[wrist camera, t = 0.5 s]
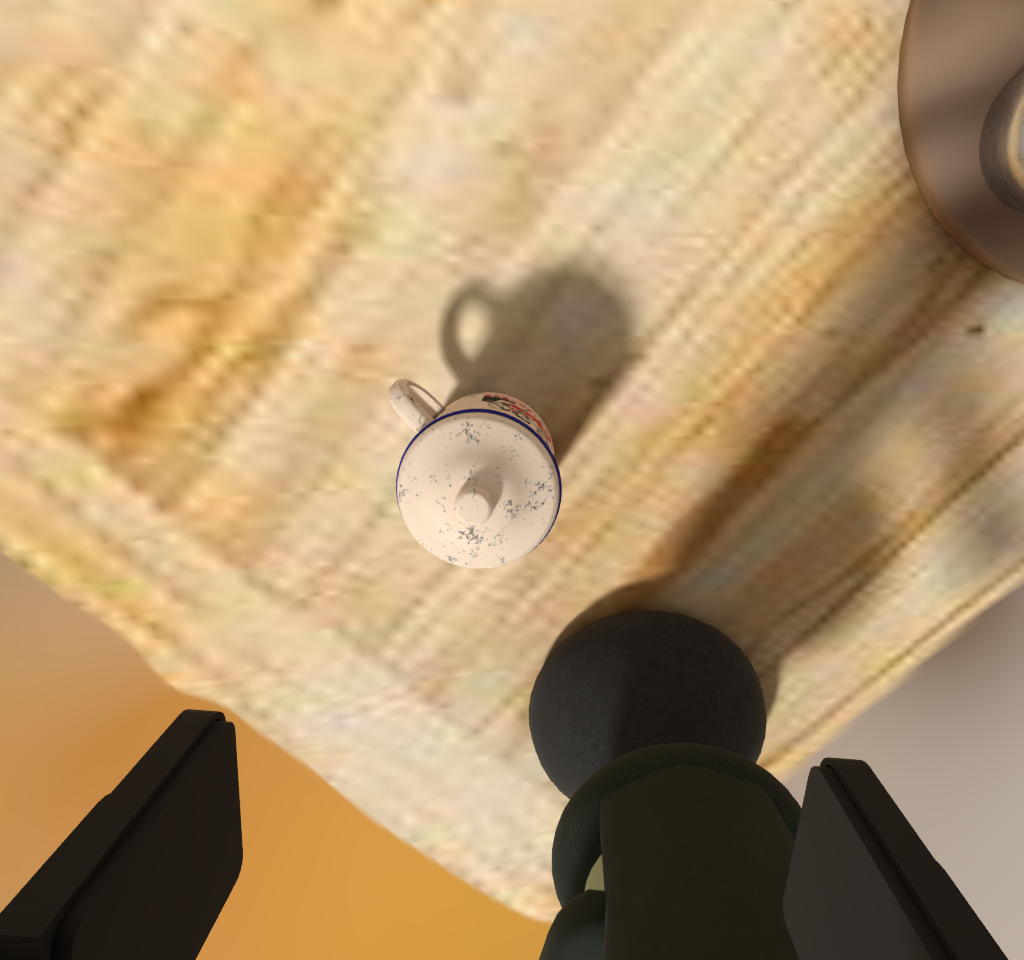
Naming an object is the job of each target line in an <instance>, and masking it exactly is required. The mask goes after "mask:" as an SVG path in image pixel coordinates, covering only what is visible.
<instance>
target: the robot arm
mask: <svg viewBox="0 0 1024 960" xmlns="http://www.w3.org/2000/svg"><path fill="white" fill-rule="evenodd" d="M238 784H239V783H238V768H237V752H236V735H235V726H234V724H233V723H232V722H226V720H225V716H224V714H223V713H222V712H218V711H204V710H191V709H188V710H184V711H183V712H182V713H181V714H180V715H179V716H178V717H177V718H176V719H175V721H174V722H173V723H172V724H171V725H170V726H169V727H168V728H167V729H166V731H165V732H164V733H163V734H162V735H161V736H160V738H159V739H158V740H157V741H156V742H155V743H154V744H153V746H152V747H151V748H150V749H149V750H148V751H147V752H146V754H145V755H144V756H143V757H142V758H141V759H140V760H139V762H138V763H137V764H136V765H135V766H134V767H133V768H132V770H131V771H130V772H129V773H128V774H127V775H126V776H125V778H124V779H123V780H122V781H121V782H120V783H119V785H118V786H117V787H116V788H115V789H114V790H113V791H112V793H110V794H108V795H106V796H105V797H104V798H103V799H101V801H99V802H98V803H97V804H96V805H95V807H94V808H93V809H92V810H91V811H90V812H89V813H88V814H87V816H86V817H85V818H84V819H83V820H82V821H81V822H80V824H79V825H78V826H77V827H76V828H75V829H74V830H73V831H72V833H71V834H70V835H69V836H68V837H67V839H65V841H64V842H63V843H62V844H61V845H60V846H59V847H58V849H57V850H56V851H55V852H54V853H53V854H52V855H51V856H50V858H49V859H48V860H47V861H46V862H45V863H44V864H43V865H42V867H41V868H40V869H39V870H38V871H37V872H36V873H35V875H34V876H33V877H32V878H31V879H30V880H29V881H28V882H27V884H26V885H25V886H24V887H23V888H22V889H21V891H20V892H19V893H18V894H17V895H16V896H15V897H14V898H13V900H12V901H11V902H10V903H9V904H8V905H7V906H6V907H5V909H4V910H3V911H2V912H1V913H0V960H196V958H197V956H198V954H199V952H200V950H201V948H202V946H203V944H204V942H205V941H206V939H207V937H208V935H209V933H210V931H211V929H212V927H213V925H214V923H215V921H216V919H217V918H218V916H219V914H220V912H221V910H222V908H223V906H224V904H225V902H226V901H227V899H228V897H229V895H230V893H231V891H232V889H233V887H234V885H235V883H236V881H237V879H238V877H239V873H240V870H241V866H242V860H243V848H242V831H241V815H240V799H239V785H238ZM783 911H784V918H785V923H786V926H787V929H788V931H789V934H790V936H791V939H792V941H793V944H794V947H795V949H796V952H797V954H798V957H799V959H800V960H1008V959H1007V957H1006V956H1005V955H1004V953H1003V952H1002V950H1001V949H1000V947H999V946H998V944H997V943H996V942H995V940H994V939H993V937H992V936H991V935H990V933H989V932H988V930H987V929H986V928H985V926H984V925H983V923H982V922H981V921H980V919H979V918H978V916H977V915H976V913H975V912H974V911H973V909H972V908H971V906H970V905H969V904H968V902H967V901H966V899H965V898H964V897H963V895H962V894H961V892H960V891H959V889H958V888H957V887H956V885H955V884H954V882H953V881H952V880H951V878H950V877H949V875H948V874H947V872H946V871H945V870H944V869H943V868H942V867H941V865H940V864H939V863H938V862H937V861H936V860H935V859H934V858H933V856H932V855H931V853H930V852H929V851H928V849H927V848H926V846H925V845H924V843H923V842H922V840H921V839H920V838H919V836H918V835H917V833H916V832H915V831H914V829H913V828H912V826H911V825H910V823H909V822H908V821H907V819H906V818H905V816H904V815H903V813H902V812H901V811H900V809H899V808H898V806H897V805H896V804H895V802H894V801H893V799H892V798H891V796H890V795H889V794H888V793H887V791H886V789H885V788H884V786H883V785H882V784H881V782H880V781H879V779H878V778H877V777H876V775H875V774H874V772H873V771H872V769H871V768H870V767H869V765H868V764H867V763H866V762H864V761H862V760H854V759H841V758H824V759H823V760H822V762H821V764H820V767H819V766H814V767H812V768H811V770H810V772H809V776H808V781H807V786H806V791H805V796H804V801H803V806H802V810H801V815H800V820H799V825H798V830H797V835H796V839H795V844H794V849H793V854H792V859H791V864H790V869H789V873H788V878H787V883H786V888H785V893H784V899H783Z"/></svg>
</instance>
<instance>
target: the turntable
mask: <svg viewBox="0 0 1024 960" xmlns="http://www.w3.org/2000/svg"><path fill="white" fill-rule="evenodd" d="M1023 68H1024V0H911V2H910V5H909V9H908V12H907V15H906V20H905V26H904V31H903V37H902V42H901V47H900V55H899V70H898V85H897V89H898V107H899V121H900V127H901V132H902V137H903V143H904V148H905V153H906V156H907V159H908V162H909V165H910V168H911V171H912V174H913V177H914V180H915V182H916V184H917V186H918V188H919V190H920V192H921V194H922V196H923V198H924V200H925V202H926V204H927V206H928V207H929V209H930V210H931V212H932V213H933V214H934V216H935V217H936V219H937V220H938V221H939V223H940V224H941V226H942V227H943V229H944V230H945V231H946V232H947V233H948V234H949V235H950V236H951V237H952V238H953V239H954V240H955V241H956V242H957V243H958V244H959V245H960V246H961V247H962V248H963V249H964V250H965V251H966V252H967V253H969V254H970V255H971V256H973V257H974V258H975V259H977V260H978V261H979V262H981V263H982V264H983V265H985V266H986V267H988V268H990V269H992V270H994V271H996V272H997V273H999V274H1001V275H1003V276H1005V277H1007V278H1009V279H1011V280H1014V281H1017V282H1020V283H1022V284H1024V213H1020V212H1018V211H1016V210H1013V209H1011V208H1010V207H1008V206H1006V205H1005V204H1003V203H1002V202H1001V201H1000V200H999V199H998V198H997V197H996V196H995V195H994V194H993V193H992V191H991V190H990V188H989V186H988V185H987V183H986V181H985V178H984V176H983V173H982V169H981V165H980V157H979V144H980V137H981V131H982V128H983V124H984V121H985V118H986V116H987V113H988V111H989V109H990V107H991V105H992V103H993V101H994V100H995V98H996V97H997V95H998V94H999V92H1000V91H1001V90H1002V88H1003V87H1004V86H1005V85H1006V83H1007V82H1008V81H1009V80H1010V79H1011V78H1012V77H1013V76H1014V75H1015V74H1017V73H1018V72H1019V71H1020V70H1022V69H1023Z"/></svg>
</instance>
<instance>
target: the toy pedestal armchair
mask: <svg viewBox="0 0 1024 960" xmlns="http://www.w3.org/2000/svg"><path fill="white" fill-rule="evenodd" d="M529 726H530V731H531V736H532V740H533V743H534V747H535V750H536V753H537V755H538V758H539V760H540V763H541V765H542V767H543V769H544V770H545V772H546V774H547V775H548V777H549V779H550V780H551V781H552V782H553V783H554V784H555V786H556V787H557V788H558V789H559V790H560V791H561V792H562V793H563V794H564V795H565V796H567V797H568V798H569V799H570V801H569V802H568V804H567V806H566V807H565V809H564V811H563V813H562V815H561V818H560V820H559V823H558V826H557V828H556V832H555V837H554V842H553V848H552V874H553V880H554V885H555V889H556V894H557V897H558V900H559V902H560V904H561V907H562V909H561V910H560V911H559V913H558V914H557V916H556V918H555V920H554V922H553V924H552V926H551V928H550V930H549V932H548V935H547V938H546V941H545V944H544V947H543V950H542V952H541V956H540V959H539V960H800V959H799V957H798V954H797V952H796V949H795V947H794V944H793V941H792V939H791V936H790V934H789V931H788V929H787V926H786V923H785V918H784V911H783V899H784V893H785V888H786V883H787V878H788V873H789V869H790V864H791V859H792V854H793V849H794V844H795V839H796V835H797V830H798V825H799V820H800V815H801V810H802V808H801V807H800V805H799V804H798V802H797V801H796V800H795V799H794V797H793V796H792V795H791V793H790V792H789V791H788V789H787V788H786V787H785V786H784V785H783V784H782V783H781V782H779V781H778V780H777V779H776V778H775V777H774V776H773V775H772V774H771V773H769V772H768V771H766V770H765V769H763V768H762V767H760V766H759V765H757V764H756V762H757V759H758V757H759V755H760V753H761V750H762V746H763V743H764V739H765V732H766V712H765V703H764V698H763V693H762V689H761V686H760V683H759V679H758V676H757V675H756V673H755V671H754V669H753V667H752V665H751V663H750V661H749V660H748V659H747V657H746V656H745V655H744V653H743V652H742V651H741V649H740V648H739V647H738V646H737V645H735V644H734V643H733V642H732V641H731V640H730V639H729V638H728V637H727V636H725V635H724V634H722V633H721V632H719V631H718V630H716V629H715V628H713V627H712V626H709V625H707V624H705V623H703V622H701V621H699V620H696V619H693V618H690V617H687V616H683V615H680V614H675V613H668V612H661V611H638V612H631V613H624V614H619V615H615V616H612V617H608V618H605V619H602V620H600V621H597V622H595V623H593V624H591V625H589V626H587V627H584V628H583V629H581V630H580V631H578V632H577V633H575V634H574V635H572V636H571V637H569V638H568V639H567V640H566V641H565V642H564V643H563V644H561V645H560V646H559V647H558V648H557V649H556V650H555V651H554V652H553V654H552V655H551V656H550V657H549V659H548V660H547V661H546V662H545V664H544V666H543V668H542V669H541V671H540V673H539V675H538V676H537V679H536V681H535V684H534V687H533V690H532V693H531V699H530V705H529Z"/></svg>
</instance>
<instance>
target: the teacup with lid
mask: <svg viewBox="0 0 1024 960" xmlns="http://www.w3.org/2000/svg"><path fill="white" fill-rule="evenodd" d="M388 397H389V400H390V402H391V404H392V406H393V407H394V409H395V410H396V411H397V413H398V414H399V415H400V416H401V418H402V419H403V420H404V421H405V422H406V423H407V424H408V425H409V426H410V427H411V428H412V429H413V430H414V431H415V432H416V433H417V435H416V436H415V437H414V438H413V439H412V441H411V442H410V443H409V445H408V447H407V448H406V450H405V452H404V454H403V456H402V458H401V461H400V464H399V468H398V472H397V479H396V493H397V501H398V505H399V509H400V512H401V515H402V517H403V519H404V521H405V523H406V525H407V527H408V529H409V530H410V532H411V533H412V535H413V536H414V537H415V539H416V540H417V541H418V542H419V543H420V544H421V545H422V546H423V547H424V548H425V549H427V550H428V551H429V552H431V553H432V554H433V555H435V556H437V557H438V558H440V559H442V560H444V561H446V562H449V563H451V564H454V565H458V566H461V567H467V568H476V569H485V568H494V567H499V566H503V565H506V564H509V563H511V562H514V561H516V560H518V559H520V558H522V557H523V556H525V555H527V554H528V553H530V552H531V551H532V550H533V549H535V548H536V547H537V546H538V545H539V544H540V543H541V542H542V541H543V540H544V538H545V537H546V536H547V534H548V533H549V532H550V530H551V528H552V526H553V525H554V522H555V520H556V518H557V515H558V512H559V508H560V503H561V495H562V486H561V477H560V472H559V469H558V465H557V462H556V460H555V458H554V448H553V443H552V439H551V436H550V433H549V431H548V429H547V427H546V425H545V423H544V422H543V420H542V419H541V417H540V416H539V415H538V414H537V413H536V412H535V411H534V410H533V409H532V408H531V407H529V406H528V405H527V404H525V403H524V402H522V401H521V400H519V399H517V398H514V397H512V396H509V395H506V394H502V393H495V392H482V393H475V394H471V395H468V396H465V397H462V398H460V399H458V400H456V401H454V402H453V403H451V404H450V405H449V406H447V407H446V408H444V407H443V406H442V405H441V404H440V403H439V402H438V401H437V400H436V399H435V398H434V397H433V396H432V395H431V394H430V393H429V392H428V391H426V390H425V389H424V388H422V387H421V386H419V385H418V384H416V383H414V382H412V381H410V380H407V379H400V380H397V381H396V382H395V383H394V384H393V385H392V386H391V387H390V388H389V391H388Z"/></svg>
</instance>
